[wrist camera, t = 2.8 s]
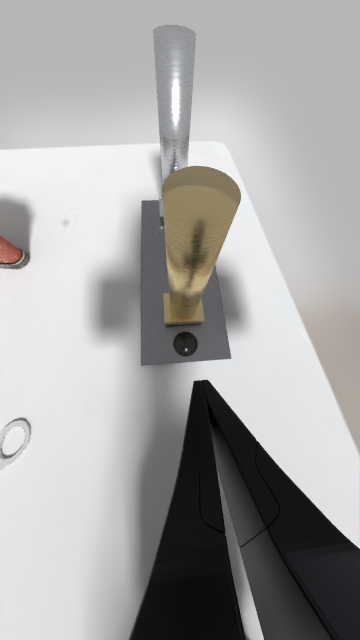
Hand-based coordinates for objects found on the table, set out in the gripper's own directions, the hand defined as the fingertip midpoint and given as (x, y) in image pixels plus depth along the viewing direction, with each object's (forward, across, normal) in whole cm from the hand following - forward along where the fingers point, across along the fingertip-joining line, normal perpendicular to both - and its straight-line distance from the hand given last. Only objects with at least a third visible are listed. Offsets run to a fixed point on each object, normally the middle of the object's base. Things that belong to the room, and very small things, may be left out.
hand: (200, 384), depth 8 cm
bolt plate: (+16, 0, -3) cm, 16 cm away
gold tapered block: (+10, 0, 0) cm, 10 cm away
